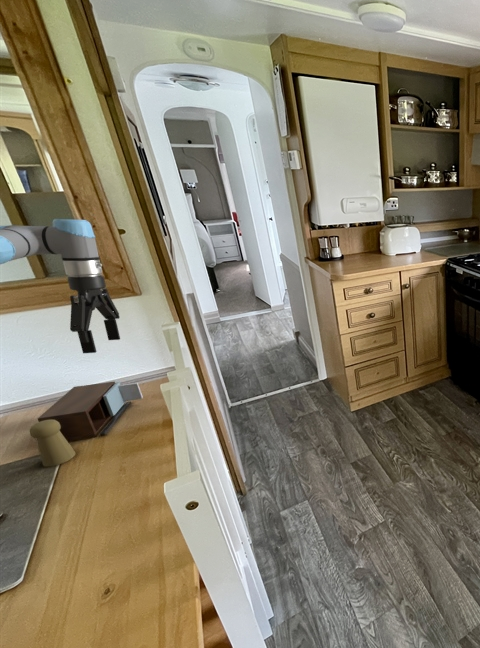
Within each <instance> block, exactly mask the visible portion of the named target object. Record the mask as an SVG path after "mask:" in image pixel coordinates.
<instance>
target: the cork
mask: <svg viewBox="0 0 480 648" xmlns="http://www.w3.org/2000/svg"><path fill="white" fill-rule="evenodd" d="M60 428H61V427H60V423H59V422H58V421H56V420H44V421H41V422H39V421H38V422H36V423H34V424H32V425H31V427H30V428H29V435H30V436H31V437H32V438H33V439H35V440H36V443H37V447H38V451H39V455H40V458H41V463H42V466H43V467H47V468H48V467H54V466H55V467H56V466H59V465H61V464H65V463H66V462H68V461H70V460H71V459H73V458H74V457H75V456H76V451H75V450H74V448H73V447H72V445H71V444H70V443H69V442H67V440H66V439H65V438H64V436H63V435H62V433H61V432H60V431H59V430H60Z"/></svg>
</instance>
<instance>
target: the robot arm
mask: <svg viewBox="0 0 480 648" xmlns="http://www.w3.org/2000/svg"><path fill="white" fill-rule="evenodd" d="M35 255H37V256H38V255H60V256H61V260H62V264H63V269H64V271H65V275H66V276H68V277H67V279H66V280H67V282H68V286H69V289H70V290H71V291H75V292H77V295H70V296H69V299H70V321H69V322H70V323H69V329H70V332H72V333H77V337H78V340H79V343H80V347H81V351H82V354H95V353H97V347H96V344H95V340H94V337H93V332H92V330H91V329H90V325H91V321H92V315H93V311H96V310H97V311H98V312H99V314H101V316H102V317H103V318H104V319H103V323H104V328H105V332H106V335H107V339H108V341H120V340H121V335H120V332H119V328H118V323H117V320H119V319H120V313H119V311H118V309H117V307H116V305H115V303H114V301H113V300H112V298H111V296H110V293H109V290H108V289H107V288H106V287H107V284H106V281H105V277H104V275H102V274H103V268H102V267H103V263H101V260H100V256H99V251H98V245H97V240H96V235H95V233H94V230H93V226H92V224H91V222H89V221H88V220H86V219H69V218H68V219H64V218H63V219H62V218H55V219H53V220H52V225H50V226H48V225H47V226H45V225H42V226H39V225H17V224H11V225H0V265H3V264H6V263H9V262H13V261H15V260H19V259H23V258H27V257H31V256H35Z"/></svg>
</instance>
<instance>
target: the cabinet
mask: <svg viewBox="0 0 480 648" xmlns="http://www.w3.org/2000/svg"><path fill="white" fill-rule="evenodd" d="M115 383H116V381H108V382H100V383H99V382H98V383H92V384H85V385H75V386H73V387H72V388H71V389H69V390H68V391H67V392H66V393H65V394H63V396H61V397H60V398H59V399H58V400H57V401H56V402H55V403H53V404H52V405H51V406H50V407H48V409H46V410H45V411H44V412H43V413H42V414H41V415H40V416H38V417H37V421H38V422H41V421H44V420H56V421H58V422H59V423H60V427H61V428H60V430H59V431H60V432H61V433H62V435H63V436H64V438H65V439H66V440H67V442H68V443H69V442H74V441H80V440H85V439H91V438H97V436H98V435H99V434H100V436H101V437H104V436H107V434H108V433H109V432H110V431H111V430H112V428H113V427H114V426H115V424H116V423H117V422H118V421H119V420H120V418H121V417H122V416H123V414H124V413H125V412H126V410H127V409H128V408H129V407H130V406H131V405H132V402H131V401H132V400H130V401H126V402H125V403H124V404H123V406H122V407H121V408H120V409H119V410H118V412H117V413H116V414H115V415H114V416H110V413H109V411H108V408H107V406H106V403H105V401H104V398H103V396H104V395H105V394H106V393H107V392H108V391H109V390H110V389H111V387H112V386H113V385H114V384H115Z"/></svg>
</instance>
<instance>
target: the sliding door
mask: <svg viewBox="0 0 480 648" xmlns="http://www.w3.org/2000/svg"><path fill="white" fill-rule="evenodd" d="M103 398H104V401H105V403H106V406H107V408H108V411H109V413H110V416H113V417H115V416H116V414H117V413H118V412H119V411H120V410H121V408H122V407H123V406H124V405H125V404H126V402H129V401H137V400H142V399H144V396H143V394H142V390H141V388H140V385H139V382H132V383H131V382H130V383H124V384H121V382H120V381H115V384H114V385H113V386H112V387H111V389H110V390H109V391H108V392H107V393H106V394H105V395H104V396H103Z"/></svg>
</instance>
